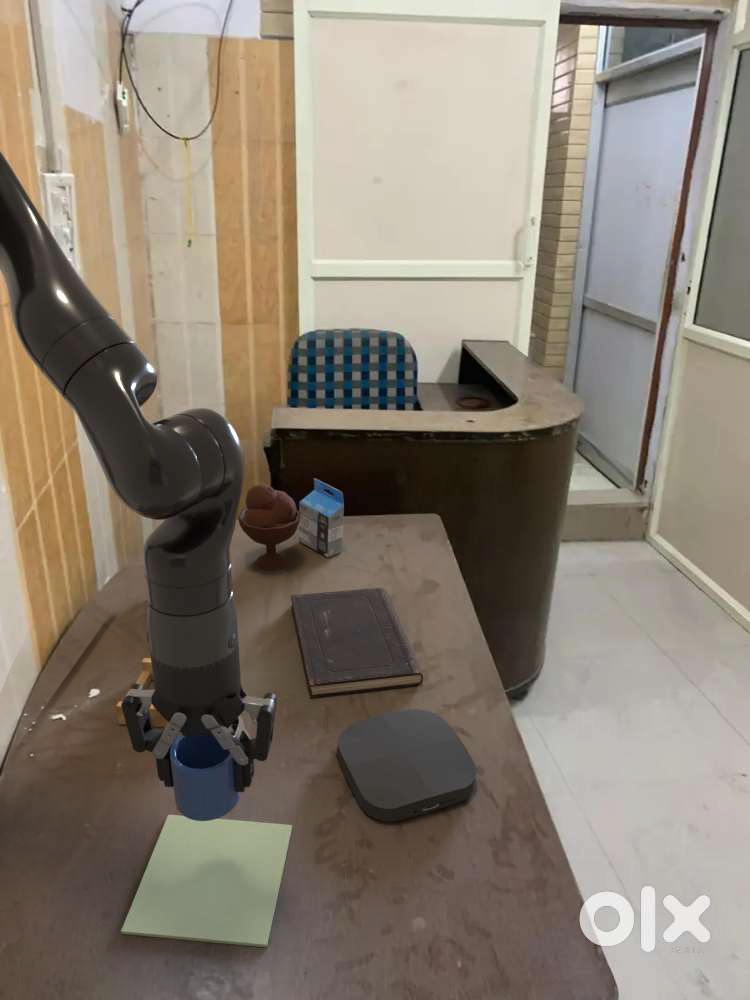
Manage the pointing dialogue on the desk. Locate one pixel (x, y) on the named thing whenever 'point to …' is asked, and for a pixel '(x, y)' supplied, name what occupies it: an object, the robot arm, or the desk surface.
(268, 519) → the ice cream bowl
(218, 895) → the mat
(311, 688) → the hardcover book
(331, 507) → the label tape box
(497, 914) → the desk surface
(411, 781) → the media streaming box
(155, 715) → the tray
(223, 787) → the small cup
